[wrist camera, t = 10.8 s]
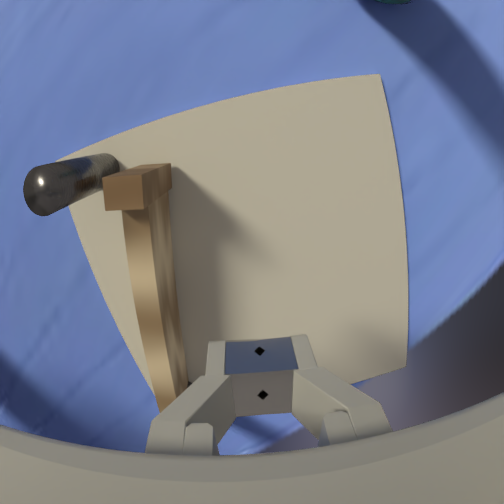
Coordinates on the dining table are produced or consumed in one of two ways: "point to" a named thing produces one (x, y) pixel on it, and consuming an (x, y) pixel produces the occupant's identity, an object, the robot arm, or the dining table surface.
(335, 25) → the dining table surface
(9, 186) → the dining table surface
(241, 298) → the mat
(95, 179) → the post
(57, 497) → the robot arm
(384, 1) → the beverage bottle
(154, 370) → the gate
